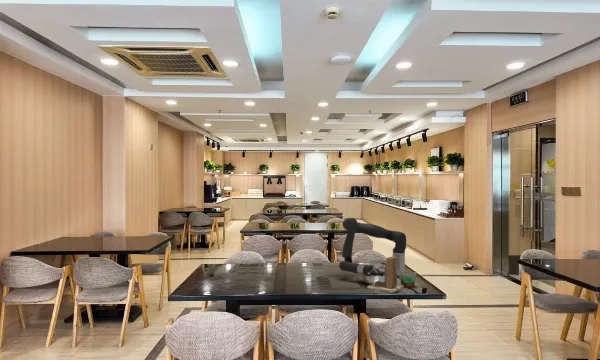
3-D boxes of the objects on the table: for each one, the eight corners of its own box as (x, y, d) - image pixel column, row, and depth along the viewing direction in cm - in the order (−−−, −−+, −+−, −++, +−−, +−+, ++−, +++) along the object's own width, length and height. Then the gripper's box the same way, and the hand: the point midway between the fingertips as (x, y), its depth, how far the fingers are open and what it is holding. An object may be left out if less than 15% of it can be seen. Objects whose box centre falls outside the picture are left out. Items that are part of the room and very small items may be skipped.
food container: (403, 288, 255) (403, 273, 255) (399, 286, 261) (399, 271, 261) (419, 287, 258) (420, 273, 258) (415, 285, 264) (415, 271, 264)
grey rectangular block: (381, 284, 262) (381, 265, 262) (387, 285, 259) (387, 266, 259) (378, 285, 258) (378, 266, 258) (384, 287, 255) (384, 267, 255)
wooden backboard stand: (380, 282, 270) (380, 253, 270) (404, 287, 258) (404, 256, 258) (367, 287, 256) (367, 256, 256) (391, 293, 244) (391, 260, 244)
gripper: (359, 266, 262) (380, 270, 252) (370, 263, 273) (391, 266, 262) (359, 277, 262) (380, 281, 252) (370, 273, 273) (391, 277, 262)
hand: (386, 273), depth 257 cm, fingers open, 7 cm apart
